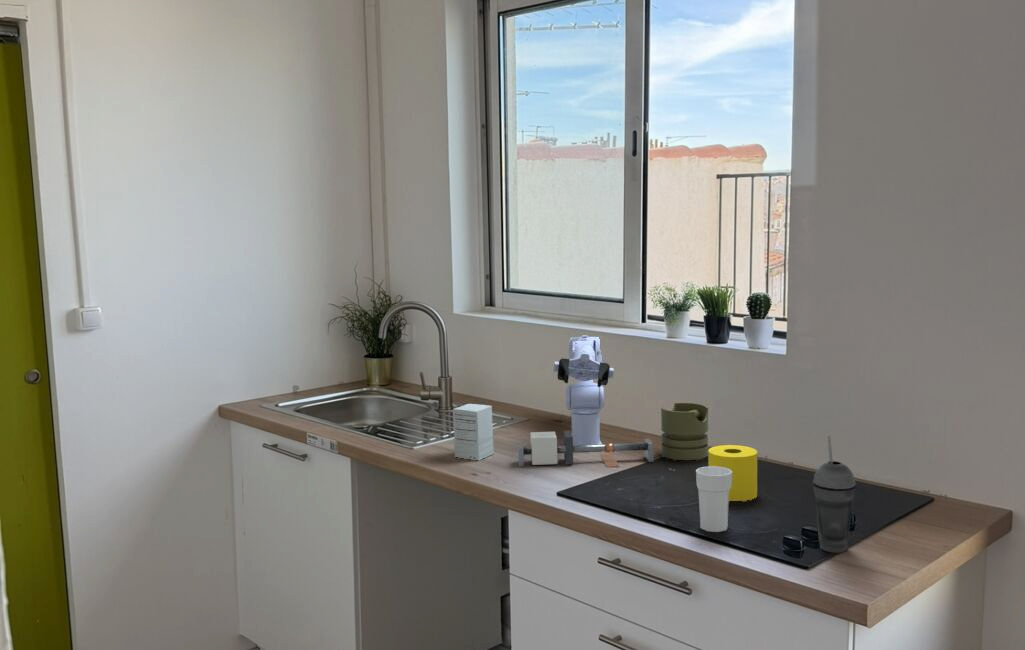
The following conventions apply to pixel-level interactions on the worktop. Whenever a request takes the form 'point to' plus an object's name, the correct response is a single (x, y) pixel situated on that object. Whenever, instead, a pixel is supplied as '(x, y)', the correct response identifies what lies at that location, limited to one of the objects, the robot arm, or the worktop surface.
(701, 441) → the piston
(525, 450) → the pipe rig
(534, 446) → the sleeve
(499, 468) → the worktop surface
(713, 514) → the cup
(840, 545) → the beverage cup
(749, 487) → the yellow toilet paper roll
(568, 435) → the dark grey flat block
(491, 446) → the supplement box
